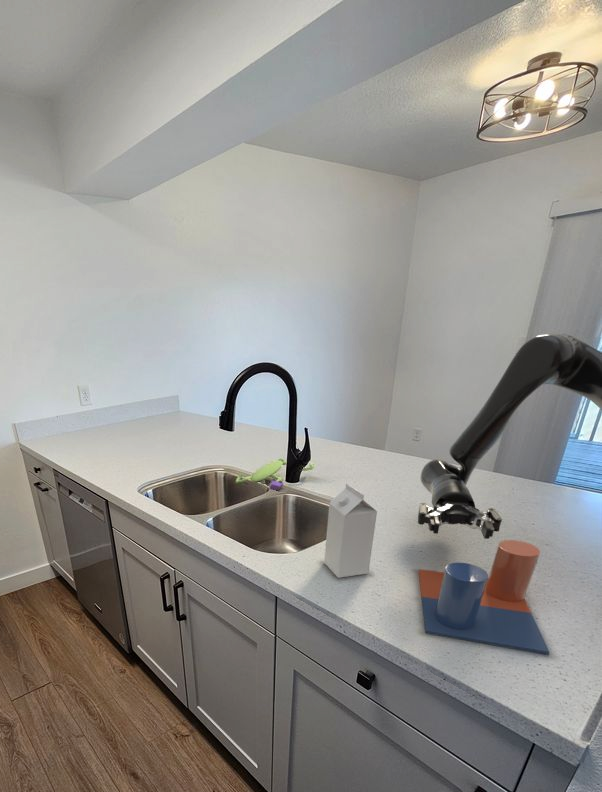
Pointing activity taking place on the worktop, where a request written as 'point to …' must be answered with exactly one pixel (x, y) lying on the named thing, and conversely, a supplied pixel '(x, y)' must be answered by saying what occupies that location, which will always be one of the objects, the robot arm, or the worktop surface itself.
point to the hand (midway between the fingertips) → (462, 531)
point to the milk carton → (349, 534)
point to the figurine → (269, 474)
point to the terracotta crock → (512, 570)
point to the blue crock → (460, 595)
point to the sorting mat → (484, 619)
